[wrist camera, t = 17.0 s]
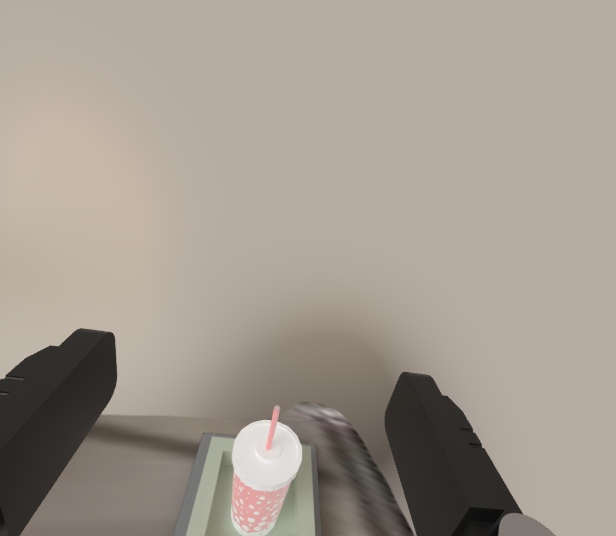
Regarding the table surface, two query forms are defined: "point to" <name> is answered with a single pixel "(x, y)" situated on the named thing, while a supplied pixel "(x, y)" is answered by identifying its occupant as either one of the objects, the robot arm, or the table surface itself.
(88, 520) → the table surface
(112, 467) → the table surface
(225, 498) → the pale green square tray
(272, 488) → the beverage cup
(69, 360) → the robot arm
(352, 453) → the table surface
